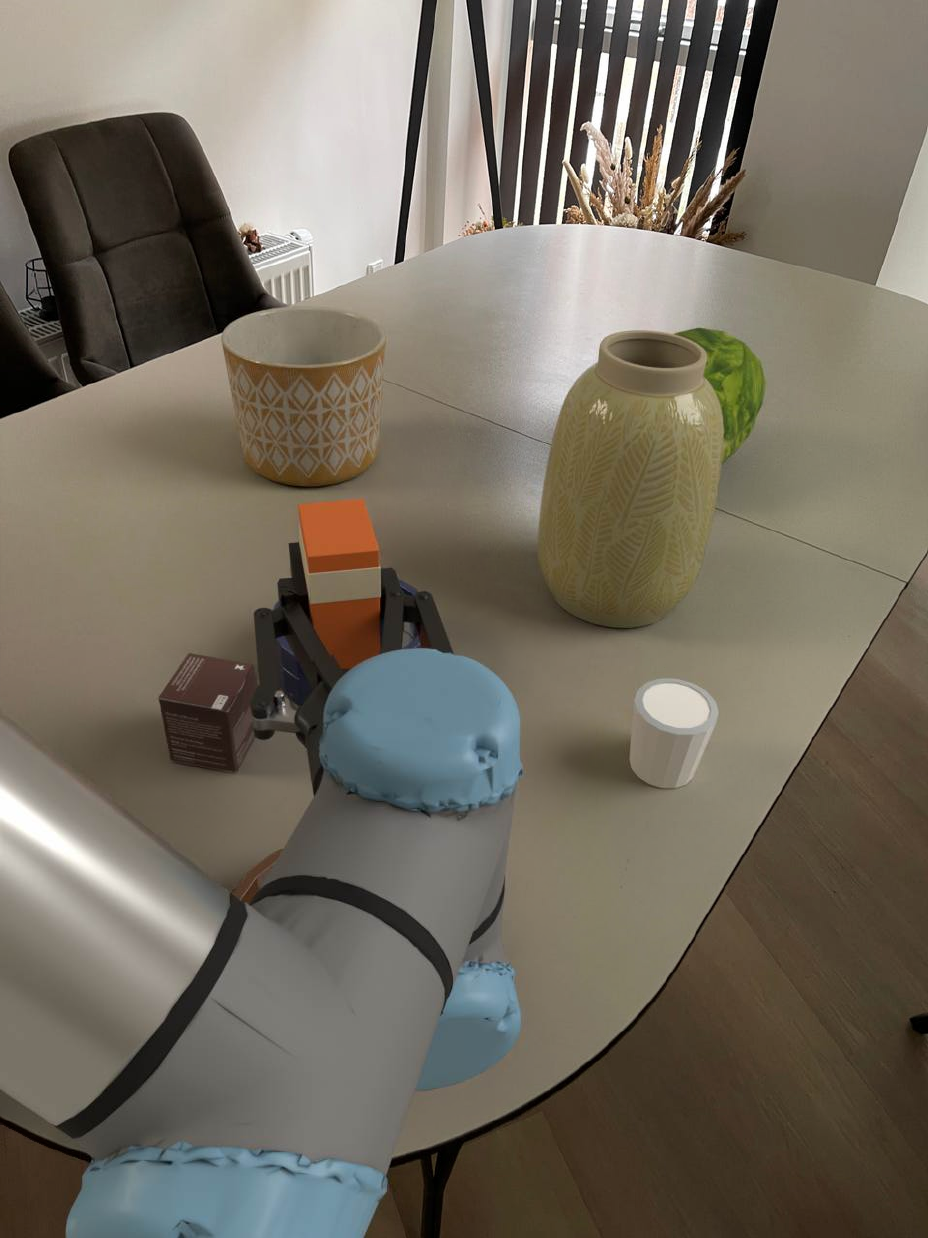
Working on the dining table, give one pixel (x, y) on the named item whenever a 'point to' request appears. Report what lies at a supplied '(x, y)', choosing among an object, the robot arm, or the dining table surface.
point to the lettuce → (731, 383)
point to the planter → (306, 392)
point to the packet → (342, 578)
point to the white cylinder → (670, 731)
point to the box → (209, 712)
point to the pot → (295, 678)
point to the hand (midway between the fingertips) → (330, 555)
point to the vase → (631, 481)
